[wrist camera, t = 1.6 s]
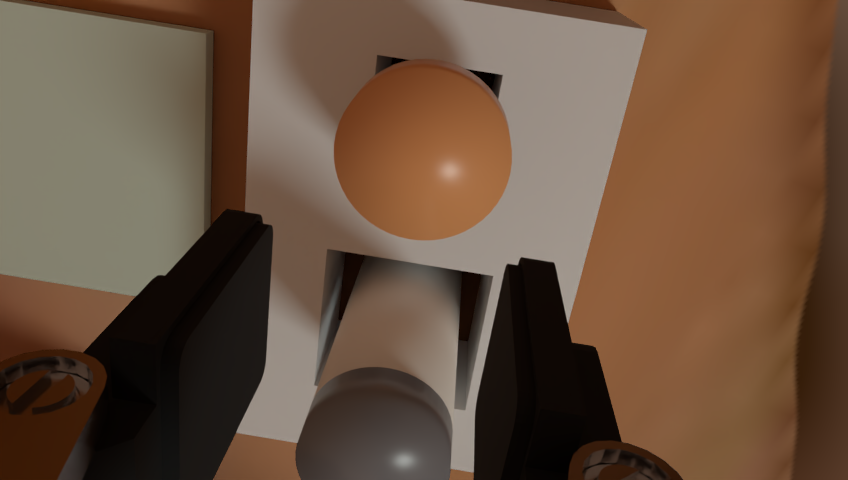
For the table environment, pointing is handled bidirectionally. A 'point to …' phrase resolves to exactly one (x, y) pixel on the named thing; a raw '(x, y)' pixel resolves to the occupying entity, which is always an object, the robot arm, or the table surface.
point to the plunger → (423, 150)
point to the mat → (101, 145)
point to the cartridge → (388, 379)
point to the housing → (468, 251)
